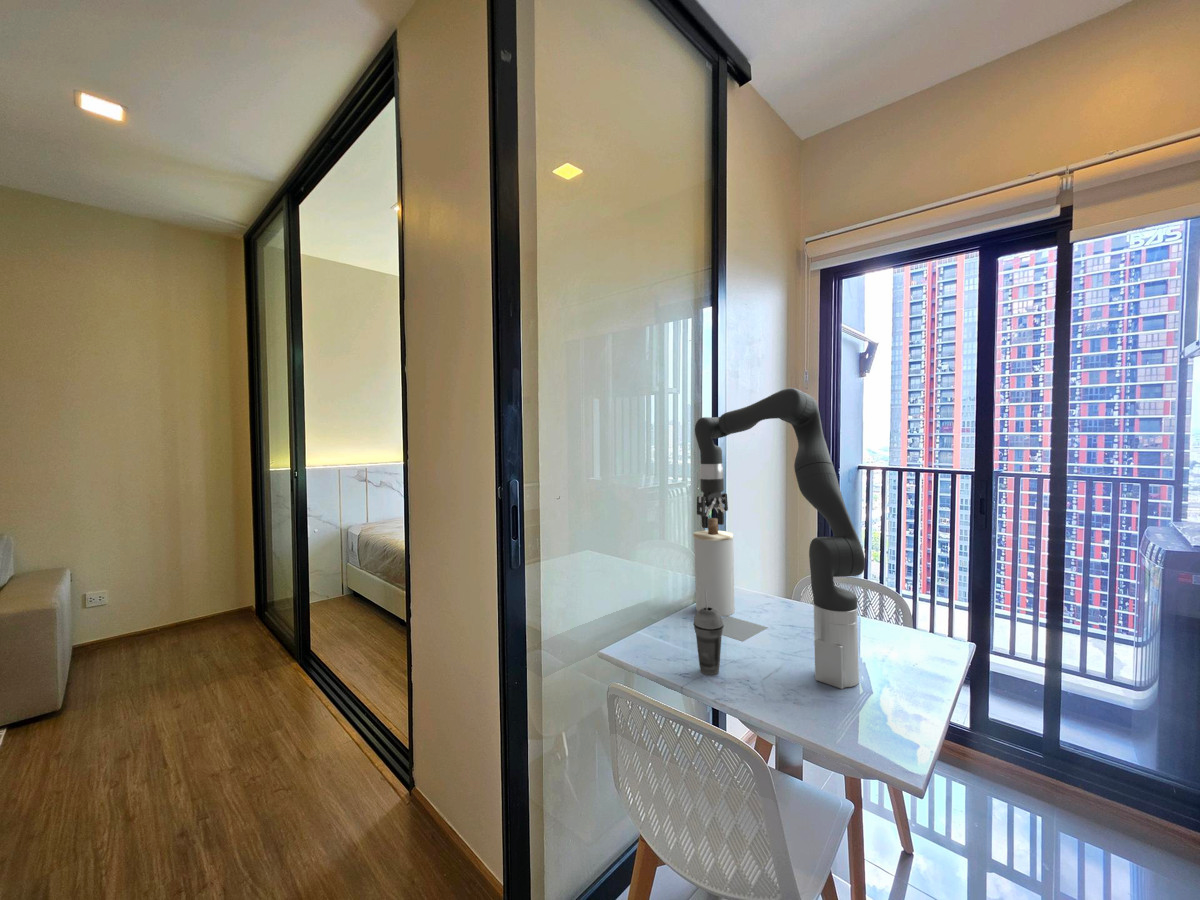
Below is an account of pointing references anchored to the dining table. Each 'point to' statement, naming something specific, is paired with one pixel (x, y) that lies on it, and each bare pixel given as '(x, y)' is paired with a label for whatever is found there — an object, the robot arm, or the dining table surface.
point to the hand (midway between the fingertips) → (713, 526)
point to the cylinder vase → (715, 575)
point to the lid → (713, 532)
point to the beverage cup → (708, 639)
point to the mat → (740, 628)
